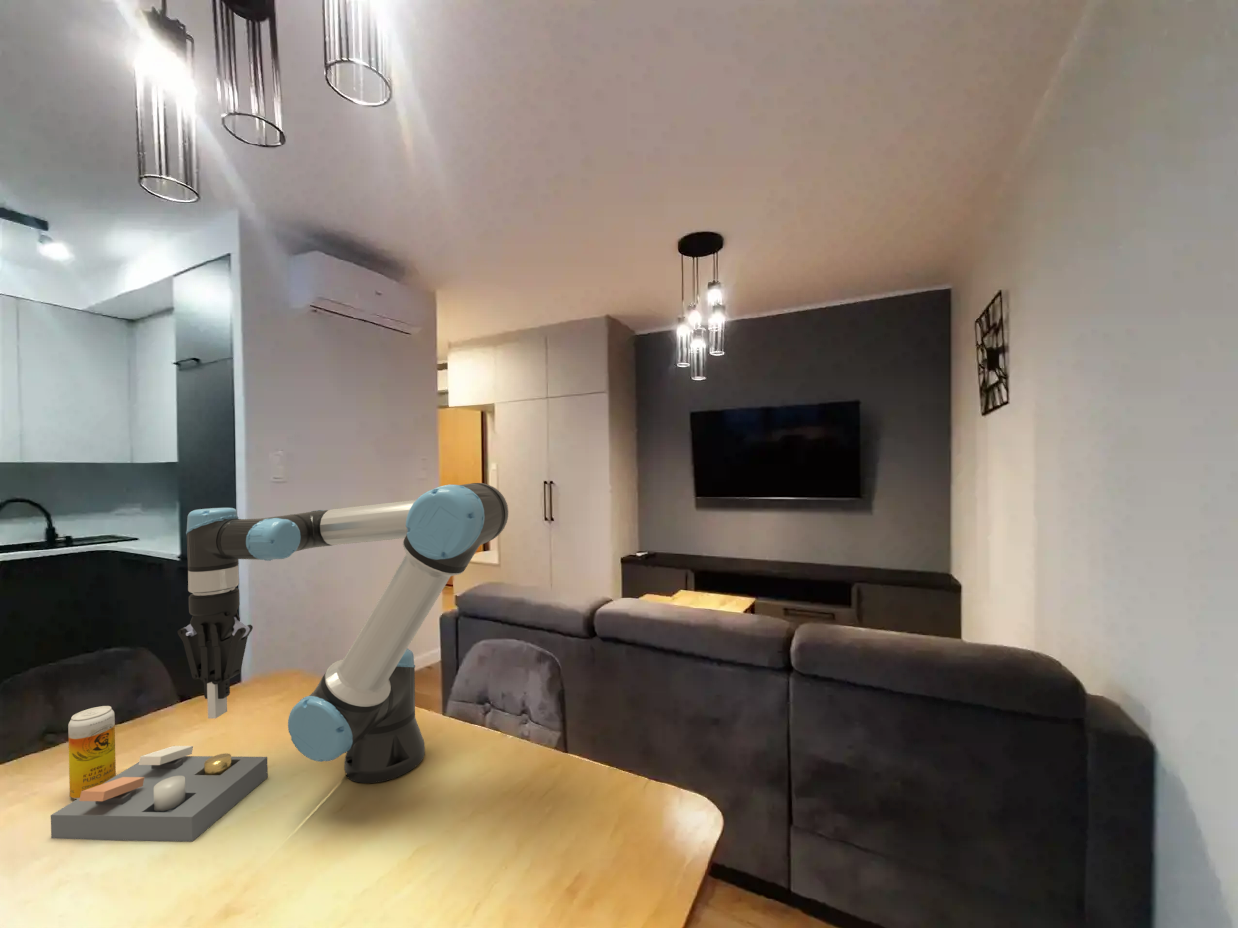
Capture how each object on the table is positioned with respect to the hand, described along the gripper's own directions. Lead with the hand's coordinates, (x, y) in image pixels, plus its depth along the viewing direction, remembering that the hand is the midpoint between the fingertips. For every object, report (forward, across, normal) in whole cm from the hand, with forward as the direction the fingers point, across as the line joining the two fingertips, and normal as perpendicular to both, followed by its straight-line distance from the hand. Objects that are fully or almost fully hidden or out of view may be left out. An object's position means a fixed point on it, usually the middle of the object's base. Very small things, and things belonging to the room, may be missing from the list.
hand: (217, 714), depth 97 cm
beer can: (+14, +23, +2) cm, 27 cm away
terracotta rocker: (+8, +10, +10) cm, 16 cm away
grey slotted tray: (+14, +5, +5) cm, 16 cm away
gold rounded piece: (+12, 0, 0) cm, 12 cm away
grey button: (+10, 0, +10) cm, 14 cm away
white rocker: (+8, +10, 0) cm, 13 cm away
